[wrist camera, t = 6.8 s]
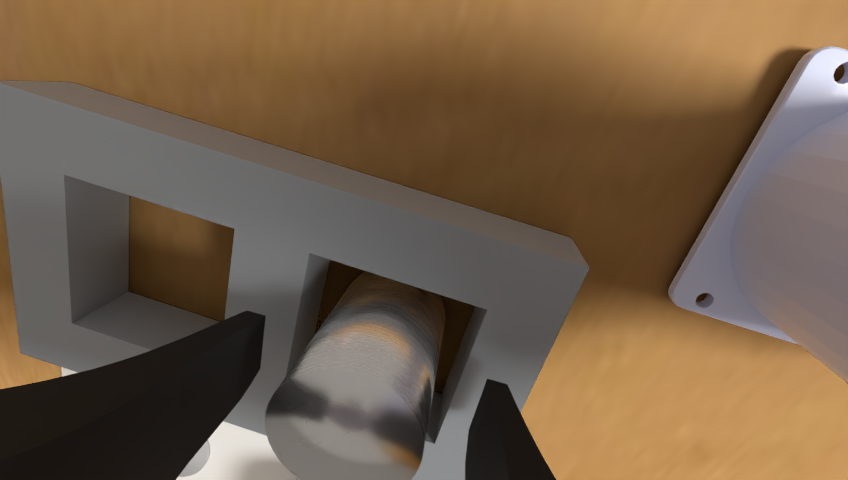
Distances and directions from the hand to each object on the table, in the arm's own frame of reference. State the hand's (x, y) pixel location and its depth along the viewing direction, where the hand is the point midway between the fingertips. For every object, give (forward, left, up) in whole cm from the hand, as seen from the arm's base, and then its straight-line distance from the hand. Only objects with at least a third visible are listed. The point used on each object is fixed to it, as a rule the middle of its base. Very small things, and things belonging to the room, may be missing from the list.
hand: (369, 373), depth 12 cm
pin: (0, 0, -3) cm, 3 cm away
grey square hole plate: (+4, 0, -3) cm, 5 cm away
